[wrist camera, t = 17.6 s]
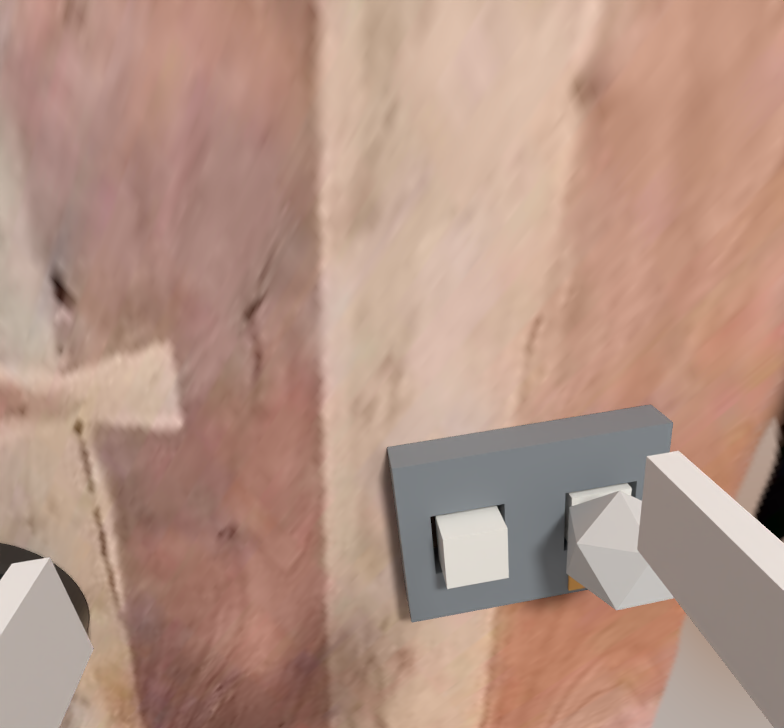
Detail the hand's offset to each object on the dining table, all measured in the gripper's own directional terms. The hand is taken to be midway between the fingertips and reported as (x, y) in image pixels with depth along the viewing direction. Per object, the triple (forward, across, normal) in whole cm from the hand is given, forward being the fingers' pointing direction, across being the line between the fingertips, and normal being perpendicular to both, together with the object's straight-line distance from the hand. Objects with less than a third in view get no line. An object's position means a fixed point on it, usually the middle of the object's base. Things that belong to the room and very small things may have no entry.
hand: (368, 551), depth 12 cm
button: (+25, +8, -23) cm, 34 cm away
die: (+24, +18, -22) cm, 37 cm away
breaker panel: (+27, +13, -22) cm, 37 cm away
